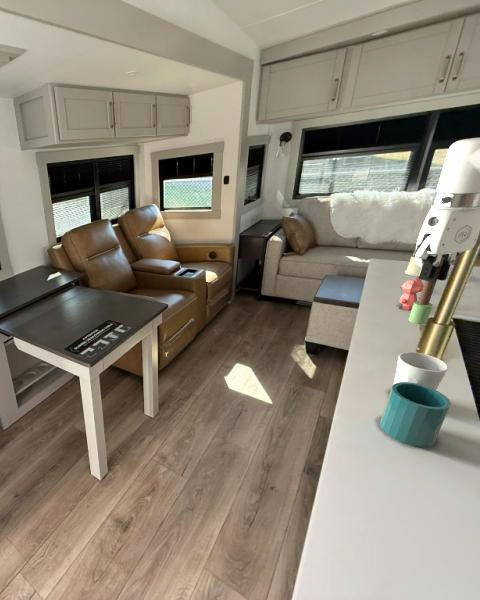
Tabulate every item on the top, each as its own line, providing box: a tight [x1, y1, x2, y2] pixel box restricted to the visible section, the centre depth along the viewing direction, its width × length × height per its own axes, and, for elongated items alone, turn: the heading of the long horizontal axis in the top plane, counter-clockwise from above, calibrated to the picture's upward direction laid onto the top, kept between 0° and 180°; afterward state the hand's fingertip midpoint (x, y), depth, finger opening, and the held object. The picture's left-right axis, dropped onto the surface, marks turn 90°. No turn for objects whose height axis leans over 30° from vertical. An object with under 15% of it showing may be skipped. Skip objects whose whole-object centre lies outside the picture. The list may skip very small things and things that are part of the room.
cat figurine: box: [398, 276, 424, 311], centre depth 116 cm, size 7×7×12 cm
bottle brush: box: [408, 256, 444, 325], centre depth 77 cm, size 3×3×17 cm
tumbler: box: [379, 382, 452, 448], centre depth 67 cm, size 8×8×11 cm
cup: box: [392, 351, 449, 391], centre depth 75 cm, size 8×8×12 cm
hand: (431, 279), depth 76 cm, fingers closed on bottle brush
